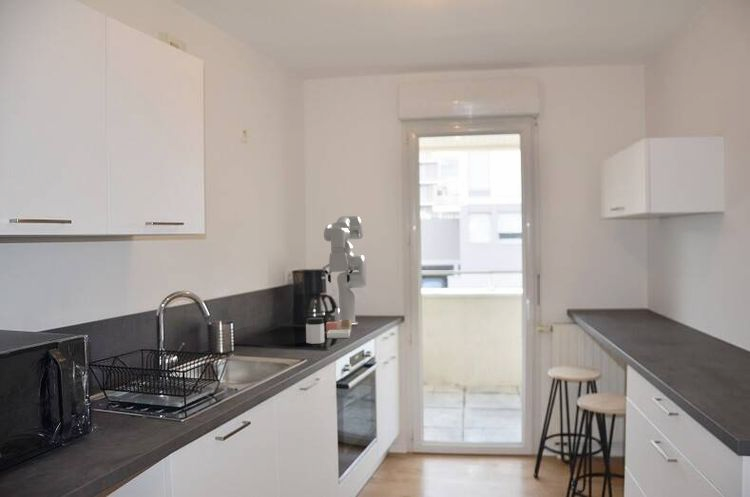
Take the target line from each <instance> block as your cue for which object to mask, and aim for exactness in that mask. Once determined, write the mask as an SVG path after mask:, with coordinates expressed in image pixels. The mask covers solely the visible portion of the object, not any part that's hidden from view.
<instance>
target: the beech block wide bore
mask: <svg viewBox="0 0 750 497" xmlns="http://www.w3.org/2000/svg"><path fill="white" fill-rule="evenodd" d="M340 330H350V333H352V325H351V320H340Z"/></svg>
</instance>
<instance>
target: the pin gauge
mask: <svg viewBox="0 0 750 497" xmlns="http://www.w3.org/2000/svg"><path fill="white" fill-rule="evenodd" d="M334 322H338V330H340V309H339V307H338V308H336V307H335V308H334Z"/></svg>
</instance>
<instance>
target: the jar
mask: <svg viewBox="0 0 750 497" xmlns="http://www.w3.org/2000/svg"><path fill="white" fill-rule="evenodd" d="M305 335H306V336H305V338H306V341H305V342H306V344H310V345H312V344H313V345H315V344H318V345H319V344H323V343H325V323H324V317H307V318H306V323H305Z"/></svg>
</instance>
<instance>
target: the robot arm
mask: <svg viewBox="0 0 750 497" xmlns="http://www.w3.org/2000/svg"><path fill="white" fill-rule="evenodd" d="M363 237H364V228H363V222H362V219H361V218H360V216H358V215H348V216H347V215H344V216H339V218H338V219H337V220H336V222H334V223H330V224H328V225H326V226H325V229H324V231H323V238H324V240H325V241H326V242H330V250H331V253H329V259H328V260H329V261H328V264H326V265H325V266H322V270H323V272H324V274H326V275H327V282H328V283H329V284H330V283H332V275H331V273H336V272H337V273H338V272H339V274H338V275H337V276H336V281H337V287H338V288H337V289H338V308H339V309H340V320H351V326H356V325H358V324H359V322H358V321H356V301H355V300H356V298H355V297H356V296H355V293H354V292H353V290H351V289H359V288H360V289H362V288H365V287H366V285H367V265H366V264H367V261H366V257H365V256H364V255H363V254H355V253H354V251H355V250H354V246H353V244H352V243H351V242H350V241H349V240H360V239H361V240H362V238H363ZM327 268H328V270H329V271H328V270H327Z"/></svg>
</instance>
